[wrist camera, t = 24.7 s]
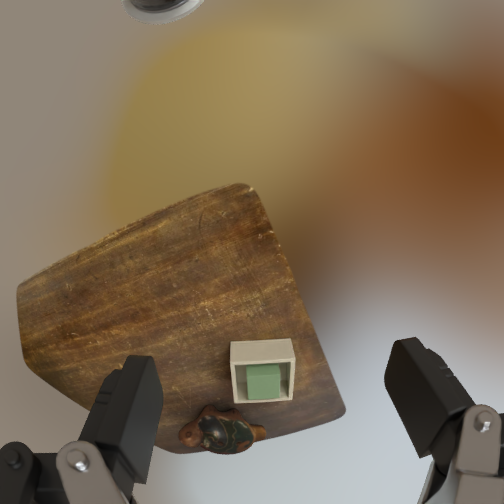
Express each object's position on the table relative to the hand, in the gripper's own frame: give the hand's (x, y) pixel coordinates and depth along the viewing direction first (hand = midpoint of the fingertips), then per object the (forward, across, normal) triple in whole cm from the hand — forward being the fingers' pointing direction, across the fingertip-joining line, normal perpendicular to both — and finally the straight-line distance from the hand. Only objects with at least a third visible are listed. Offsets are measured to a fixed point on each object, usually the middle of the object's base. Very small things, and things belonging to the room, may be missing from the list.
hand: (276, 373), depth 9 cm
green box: (+28, -1, +24) cm, 37 cm away
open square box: (+28, -1, +24) cm, 37 cm away
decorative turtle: (+28, +6, +38) cm, 48 cm away
